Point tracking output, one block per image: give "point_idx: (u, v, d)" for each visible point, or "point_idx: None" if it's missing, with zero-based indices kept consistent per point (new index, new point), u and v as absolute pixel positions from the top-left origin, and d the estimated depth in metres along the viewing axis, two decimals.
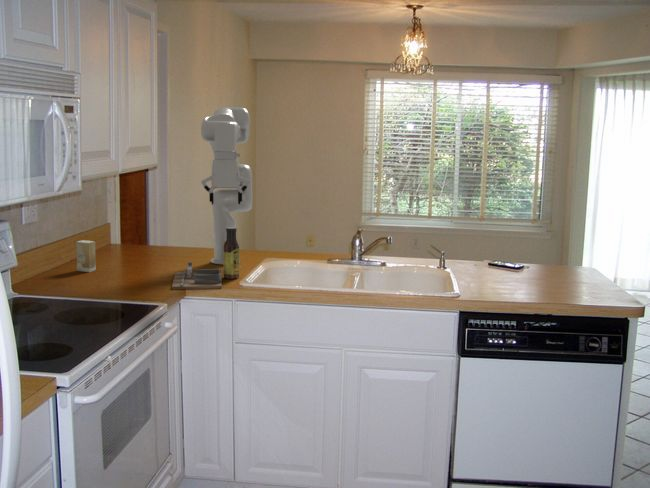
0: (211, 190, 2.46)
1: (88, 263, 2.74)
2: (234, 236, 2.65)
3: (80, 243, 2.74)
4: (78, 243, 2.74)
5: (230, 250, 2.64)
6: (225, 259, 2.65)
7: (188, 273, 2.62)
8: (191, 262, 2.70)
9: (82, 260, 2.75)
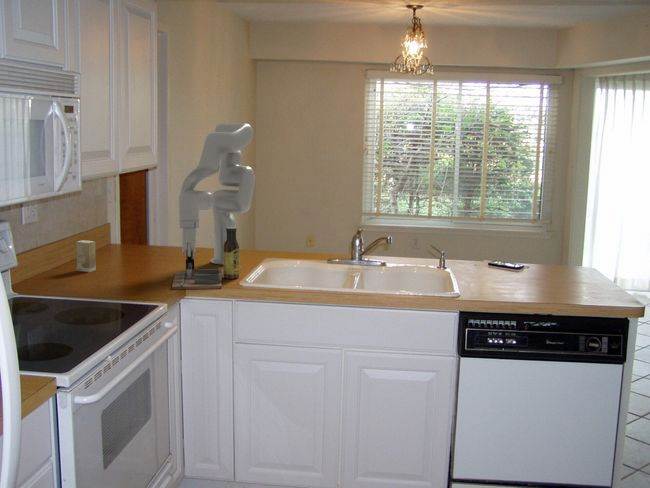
0: (193, 257, 2.72)
1: (88, 263, 2.74)
2: (234, 236, 2.65)
3: (80, 243, 2.74)
4: (78, 243, 2.74)
5: (230, 250, 2.64)
6: (225, 259, 2.65)
7: (188, 273, 2.62)
8: (191, 262, 2.70)
9: (82, 260, 2.75)
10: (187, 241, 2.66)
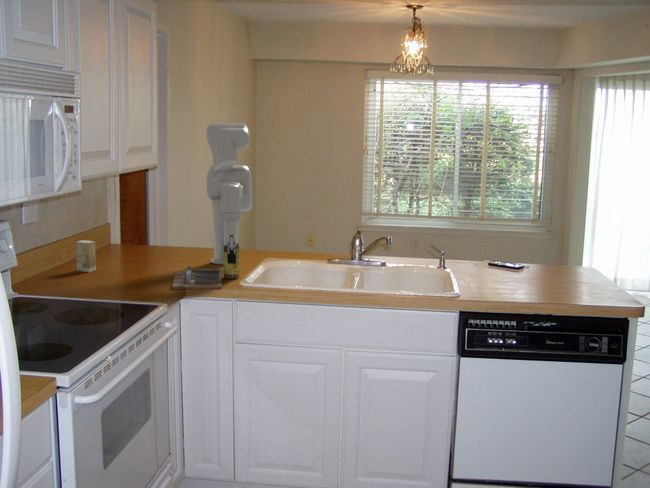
0: (234, 250, 2.63)
1: (88, 263, 2.74)
2: None
3: (80, 243, 2.74)
4: (78, 243, 2.74)
5: None
6: (225, 259, 2.65)
7: (187, 278, 2.54)
8: (190, 266, 2.63)
9: (82, 260, 2.75)
10: (229, 233, 2.61)
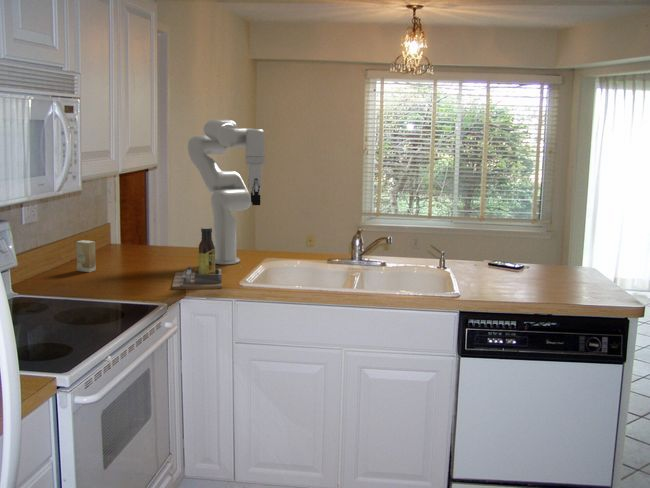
0: (259, 192, 2.68)
1: (88, 263, 2.74)
2: (209, 236, 2.57)
3: (80, 243, 2.74)
4: (78, 243, 2.74)
5: (205, 251, 2.56)
6: (200, 260, 2.57)
7: (187, 278, 2.54)
8: (190, 266, 2.63)
9: (82, 260, 2.75)
10: (254, 177, 2.66)
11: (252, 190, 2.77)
